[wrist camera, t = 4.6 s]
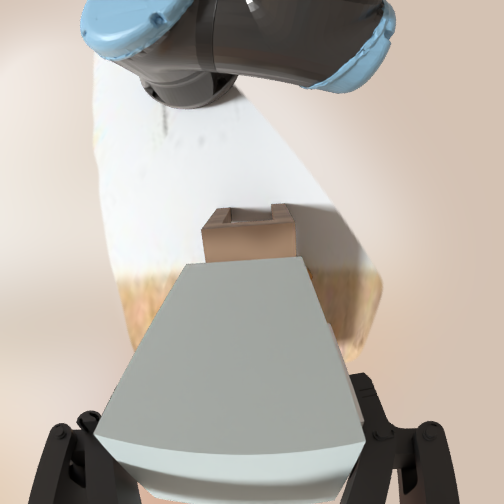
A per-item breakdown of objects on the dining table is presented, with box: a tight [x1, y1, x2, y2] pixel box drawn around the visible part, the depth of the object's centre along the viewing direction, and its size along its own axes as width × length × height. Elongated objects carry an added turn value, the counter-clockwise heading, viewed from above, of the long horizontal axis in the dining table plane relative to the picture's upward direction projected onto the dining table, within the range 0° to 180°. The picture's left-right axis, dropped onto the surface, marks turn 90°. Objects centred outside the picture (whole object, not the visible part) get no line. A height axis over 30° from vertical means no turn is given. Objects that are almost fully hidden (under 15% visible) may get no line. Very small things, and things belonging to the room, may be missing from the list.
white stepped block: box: [93, 256, 366, 504], centre depth 16 cm, size 23×8×14 cm, turn 5°
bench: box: [201, 203, 296, 263], centre depth 39 cm, size 24×10×12 cm, turn 5°
